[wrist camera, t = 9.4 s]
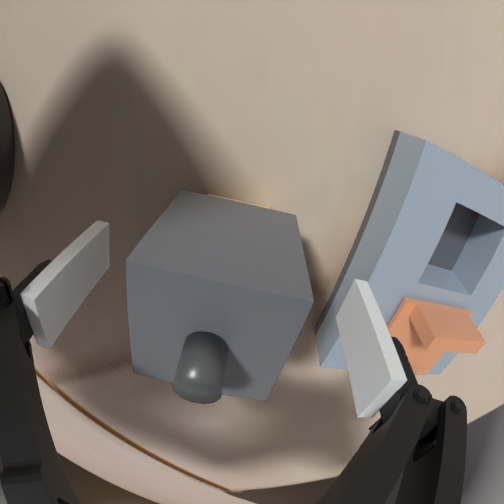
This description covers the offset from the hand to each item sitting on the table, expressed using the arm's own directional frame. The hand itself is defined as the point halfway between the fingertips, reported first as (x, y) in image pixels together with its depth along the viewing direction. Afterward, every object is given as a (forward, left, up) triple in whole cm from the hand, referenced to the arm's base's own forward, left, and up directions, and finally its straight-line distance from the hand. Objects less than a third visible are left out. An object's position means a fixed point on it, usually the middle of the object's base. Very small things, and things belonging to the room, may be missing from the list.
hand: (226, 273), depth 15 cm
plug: (0, 0, -5) cm, 5 cm away
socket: (+14, +1, -5) cm, 15 cm away
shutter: (+14, -3, -1) cm, 14 cm away
